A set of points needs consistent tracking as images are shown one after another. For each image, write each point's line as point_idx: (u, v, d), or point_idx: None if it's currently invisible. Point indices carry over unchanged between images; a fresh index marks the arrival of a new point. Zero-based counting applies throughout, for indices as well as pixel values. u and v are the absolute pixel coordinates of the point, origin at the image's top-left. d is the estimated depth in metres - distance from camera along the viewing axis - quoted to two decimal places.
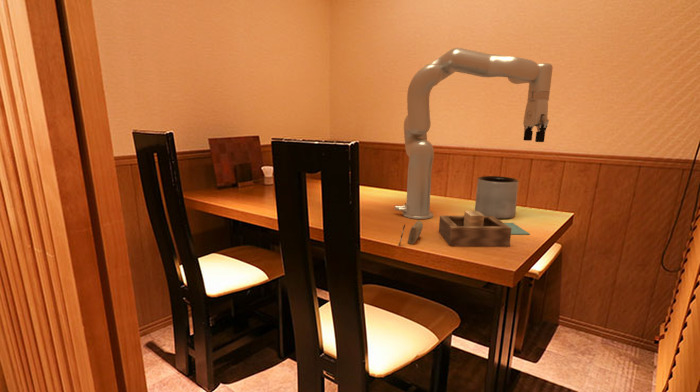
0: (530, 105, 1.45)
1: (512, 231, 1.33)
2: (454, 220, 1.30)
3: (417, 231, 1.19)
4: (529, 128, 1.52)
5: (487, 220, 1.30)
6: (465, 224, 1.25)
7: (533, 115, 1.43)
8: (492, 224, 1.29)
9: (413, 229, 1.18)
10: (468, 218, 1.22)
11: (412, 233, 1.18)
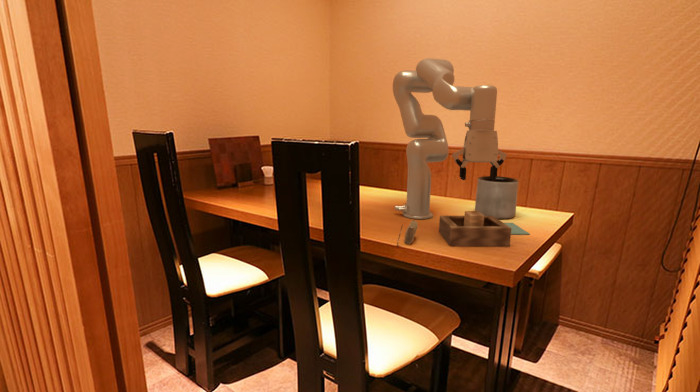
0: (484, 136, 1.15)
1: (512, 231, 1.33)
2: (454, 220, 1.30)
3: (414, 231, 1.18)
4: None
5: (487, 220, 1.30)
6: (465, 224, 1.25)
7: (493, 149, 1.16)
8: (492, 224, 1.29)
9: (410, 229, 1.18)
10: (468, 218, 1.22)
11: (409, 233, 1.18)
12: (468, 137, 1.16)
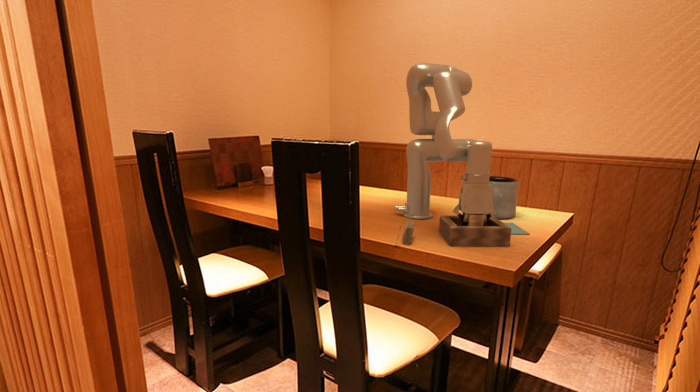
0: (479, 190, 1.19)
1: (512, 231, 1.33)
2: (454, 220, 1.30)
3: (412, 231, 1.18)
4: None
5: (487, 220, 1.30)
6: None
7: (488, 202, 1.20)
8: (492, 224, 1.29)
9: (408, 229, 1.18)
10: (468, 218, 1.22)
11: (407, 233, 1.18)
12: (464, 190, 1.20)
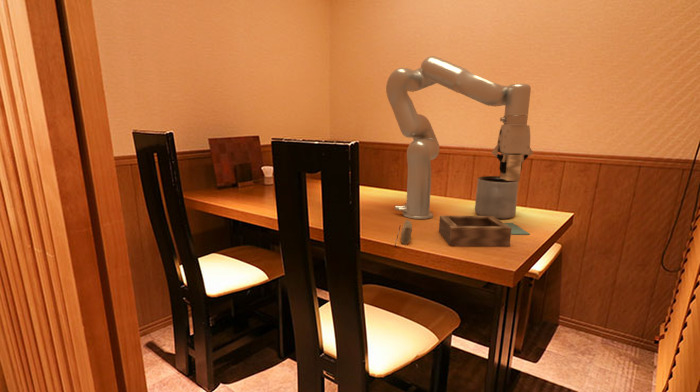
0: (518, 130, 1.27)
1: (512, 231, 1.33)
2: (454, 220, 1.30)
3: (411, 231, 1.19)
4: None
5: (487, 220, 1.30)
6: None
7: (526, 142, 1.28)
8: (492, 224, 1.29)
9: (407, 229, 1.18)
10: (507, 158, 1.30)
11: (406, 233, 1.18)
12: (503, 131, 1.28)
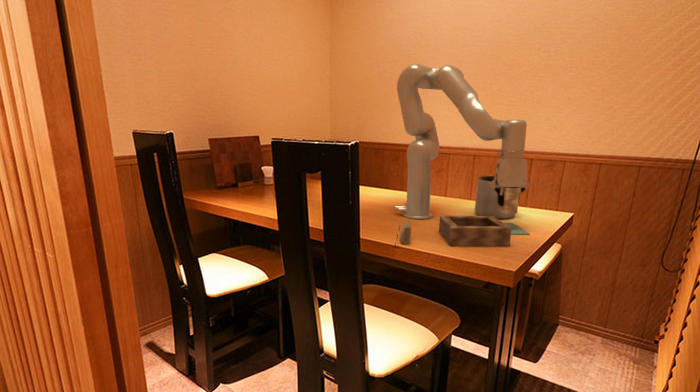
0: (514, 164, 1.29)
1: (512, 231, 1.33)
2: (454, 220, 1.30)
3: (410, 231, 1.19)
4: None
5: (487, 220, 1.30)
6: None
7: (523, 176, 1.30)
8: (492, 224, 1.29)
9: (407, 229, 1.18)
10: (504, 191, 1.32)
11: (406, 233, 1.18)
12: (500, 165, 1.30)
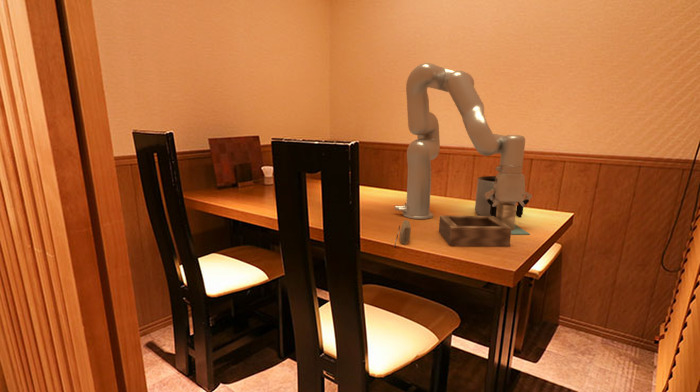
0: (513, 179, 1.30)
1: (512, 231, 1.33)
2: (454, 220, 1.30)
3: (410, 231, 1.19)
4: None
5: (487, 220, 1.30)
6: (498, 214, 1.37)
7: (521, 191, 1.31)
8: (492, 224, 1.29)
9: (406, 229, 1.18)
10: (501, 208, 1.34)
11: (405, 233, 1.18)
12: (499, 180, 1.31)
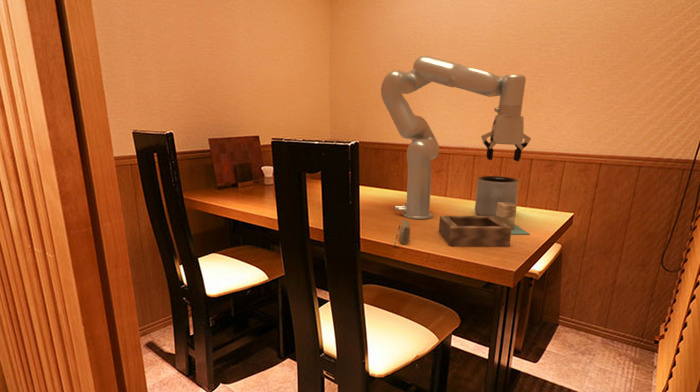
0: (511, 120, 1.28)
1: (512, 231, 1.33)
2: (454, 220, 1.30)
3: (409, 231, 1.19)
4: None
5: (487, 220, 1.30)
6: (498, 214, 1.37)
7: (519, 132, 1.29)
8: (492, 224, 1.29)
9: (406, 229, 1.18)
10: (501, 208, 1.34)
11: (405, 233, 1.18)
12: (497, 121, 1.28)
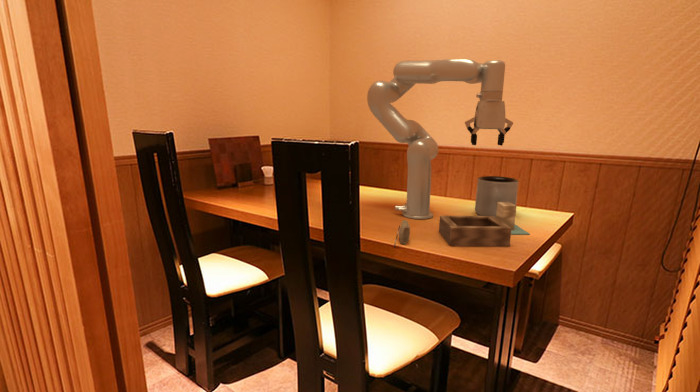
0: (493, 105, 1.31)
1: (512, 231, 1.33)
2: (454, 220, 1.30)
3: (409, 231, 1.19)
4: None
5: (487, 220, 1.30)
6: (498, 214, 1.37)
7: (501, 117, 1.32)
8: (492, 224, 1.29)
9: (406, 229, 1.18)
10: (501, 208, 1.34)
11: (405, 233, 1.18)
12: (479, 106, 1.32)
